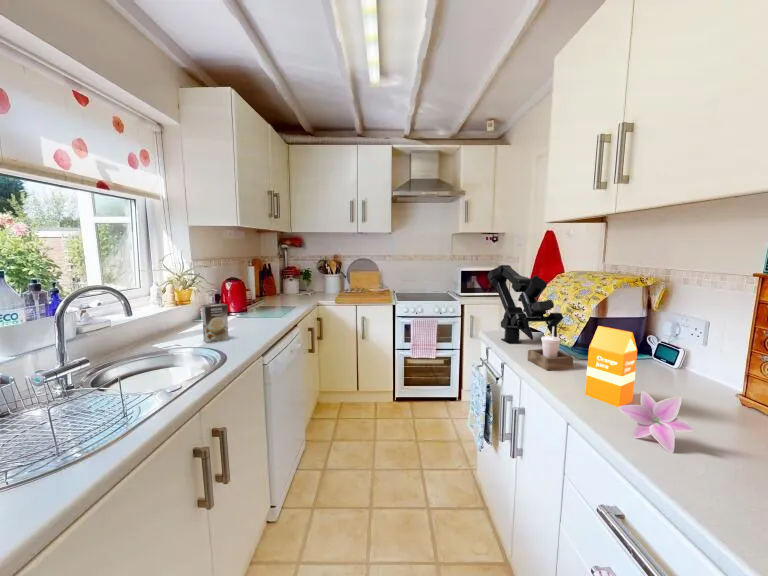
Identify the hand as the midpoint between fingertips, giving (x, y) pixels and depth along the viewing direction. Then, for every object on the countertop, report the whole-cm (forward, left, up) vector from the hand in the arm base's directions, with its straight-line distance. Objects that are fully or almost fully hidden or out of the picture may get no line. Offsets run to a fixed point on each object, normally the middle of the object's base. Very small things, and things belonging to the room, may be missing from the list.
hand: (544, 338), depth 123 cm
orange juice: (+31, -4, -8) cm, 33 cm away
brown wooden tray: (+4, -1, -8) cm, 9 cm away
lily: (+50, -11, -9) cm, 52 cm away
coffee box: (-56, -127, -8) cm, 139 cm away
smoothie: (+4, -1, -8) cm, 9 cm away
